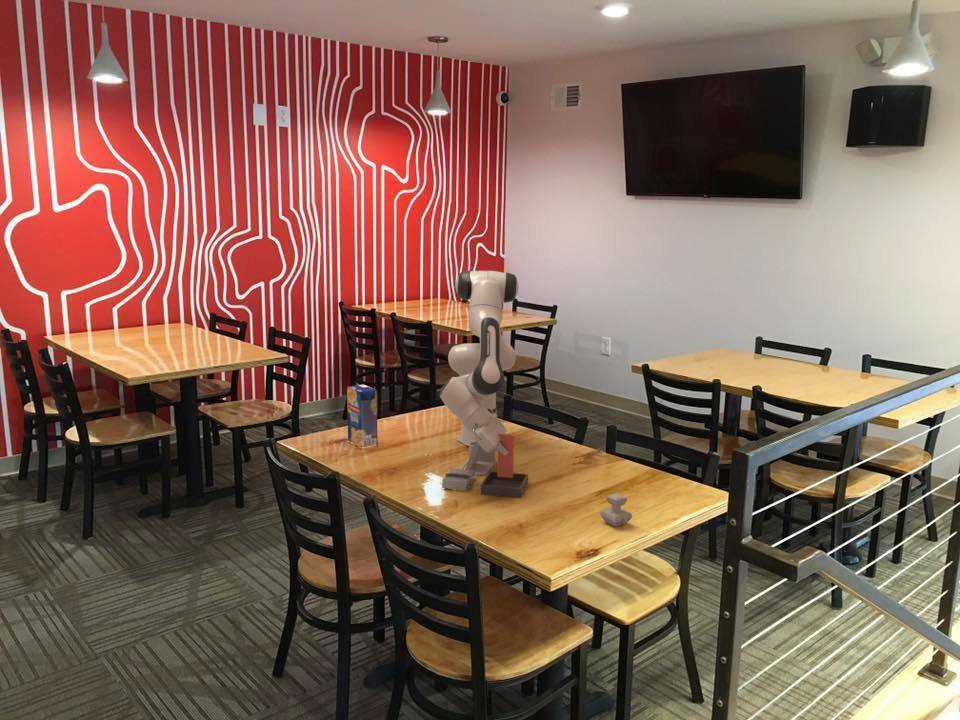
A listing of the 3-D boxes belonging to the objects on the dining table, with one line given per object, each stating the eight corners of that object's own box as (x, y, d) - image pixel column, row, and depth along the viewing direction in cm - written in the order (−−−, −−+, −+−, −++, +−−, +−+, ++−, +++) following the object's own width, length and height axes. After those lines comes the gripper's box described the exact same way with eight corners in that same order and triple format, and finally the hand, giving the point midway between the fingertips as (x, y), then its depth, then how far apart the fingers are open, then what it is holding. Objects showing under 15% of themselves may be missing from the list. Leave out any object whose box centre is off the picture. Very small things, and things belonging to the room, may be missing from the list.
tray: (489, 479, 259) (489, 470, 259) (528, 483, 257) (528, 474, 256) (480, 494, 246) (480, 485, 245) (520, 498, 243) (521, 488, 243)
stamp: (634, 526, 223) (636, 499, 221) (617, 531, 219) (619, 503, 218) (613, 516, 230) (614, 489, 229) (596, 520, 227) (597, 493, 225)
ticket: (498, 475, 251) (498, 433, 249) (513, 476, 250) (514, 434, 248) (497, 476, 250) (498, 434, 247) (512, 477, 249) (513, 436, 246)
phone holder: (470, 457, 282) (471, 410, 278) (497, 460, 279) (498, 412, 276) (456, 473, 265) (457, 422, 262) (485, 476, 263) (486, 425, 259)
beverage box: (363, 439, 302) (363, 384, 298) (377, 446, 293) (377, 389, 289) (348, 442, 298) (347, 386, 294) (361, 449, 289) (360, 392, 285)
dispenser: (451, 476, 262) (451, 466, 261) (474, 478, 260) (475, 468, 259) (442, 488, 250) (442, 478, 249) (466, 491, 248) (466, 480, 248)
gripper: (478, 422, 238) (508, 456, 238) (491, 407, 258) (520, 437, 257) (463, 435, 240) (494, 468, 239) (478, 419, 259) (506, 449, 259)
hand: (507, 452), depth 249 cm, fingers closed on ticket, 1 cm apart
